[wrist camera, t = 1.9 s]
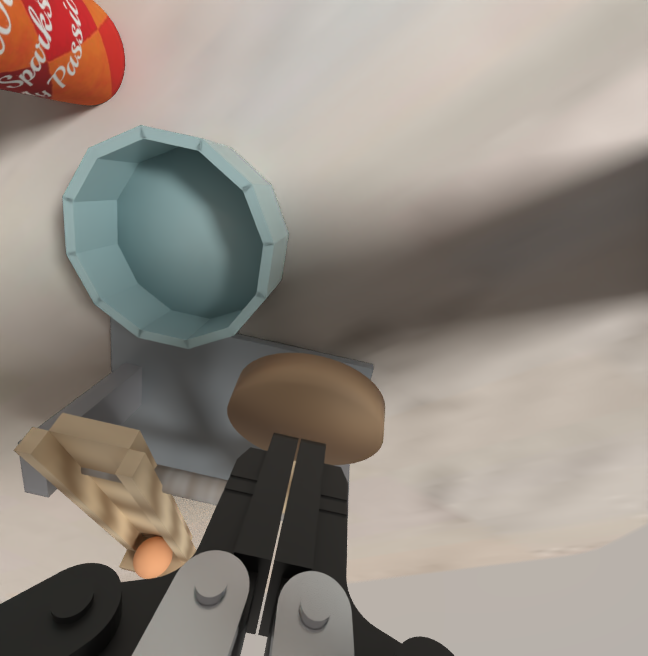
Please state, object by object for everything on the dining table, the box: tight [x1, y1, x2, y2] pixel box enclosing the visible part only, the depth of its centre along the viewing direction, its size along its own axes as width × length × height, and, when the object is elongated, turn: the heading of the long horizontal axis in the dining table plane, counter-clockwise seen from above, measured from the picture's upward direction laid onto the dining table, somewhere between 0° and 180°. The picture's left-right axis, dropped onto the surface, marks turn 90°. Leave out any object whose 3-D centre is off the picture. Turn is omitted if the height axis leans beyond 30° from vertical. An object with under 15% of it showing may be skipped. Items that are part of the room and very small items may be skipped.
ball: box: [133, 536, 173, 579], centre depth 30 cm, size 3×3×3 cm
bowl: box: [62, 125, 289, 349], centre depth 23 cm, size 12×12×5 cm
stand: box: [18, 317, 373, 519], centre depth 26 cm, size 17×20×10 cm
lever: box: [14, 353, 385, 577], centre depth 22 cm, size 30×16×4 cm, turn 169°
